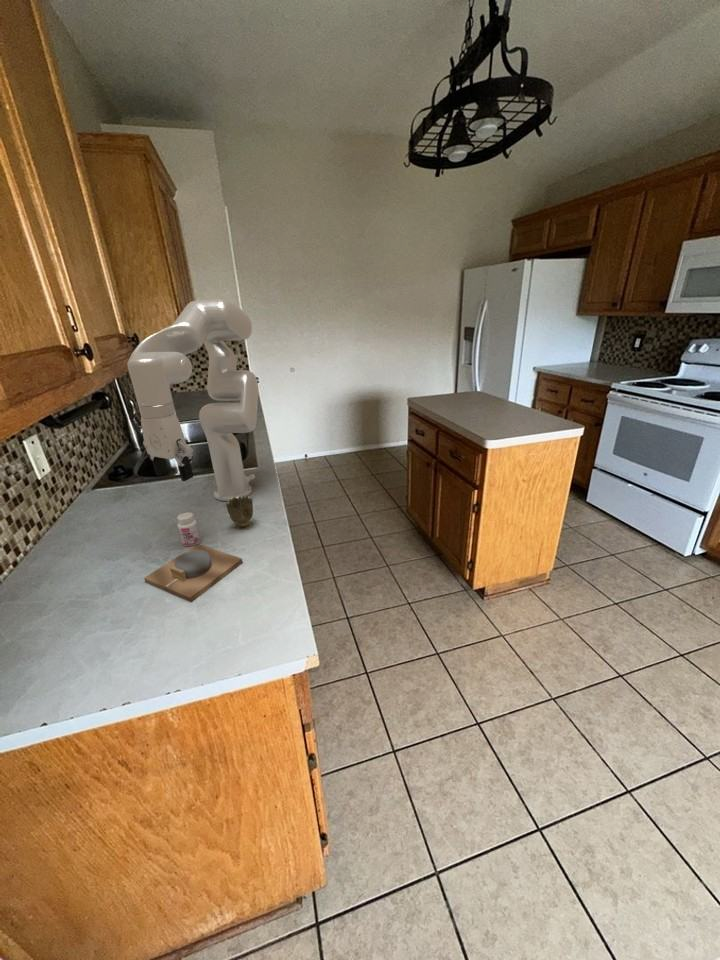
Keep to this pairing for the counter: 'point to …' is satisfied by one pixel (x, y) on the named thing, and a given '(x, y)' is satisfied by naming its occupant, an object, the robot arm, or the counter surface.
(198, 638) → the counter surface
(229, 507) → the dark rounded piece
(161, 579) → the board
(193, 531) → the pill bottle
